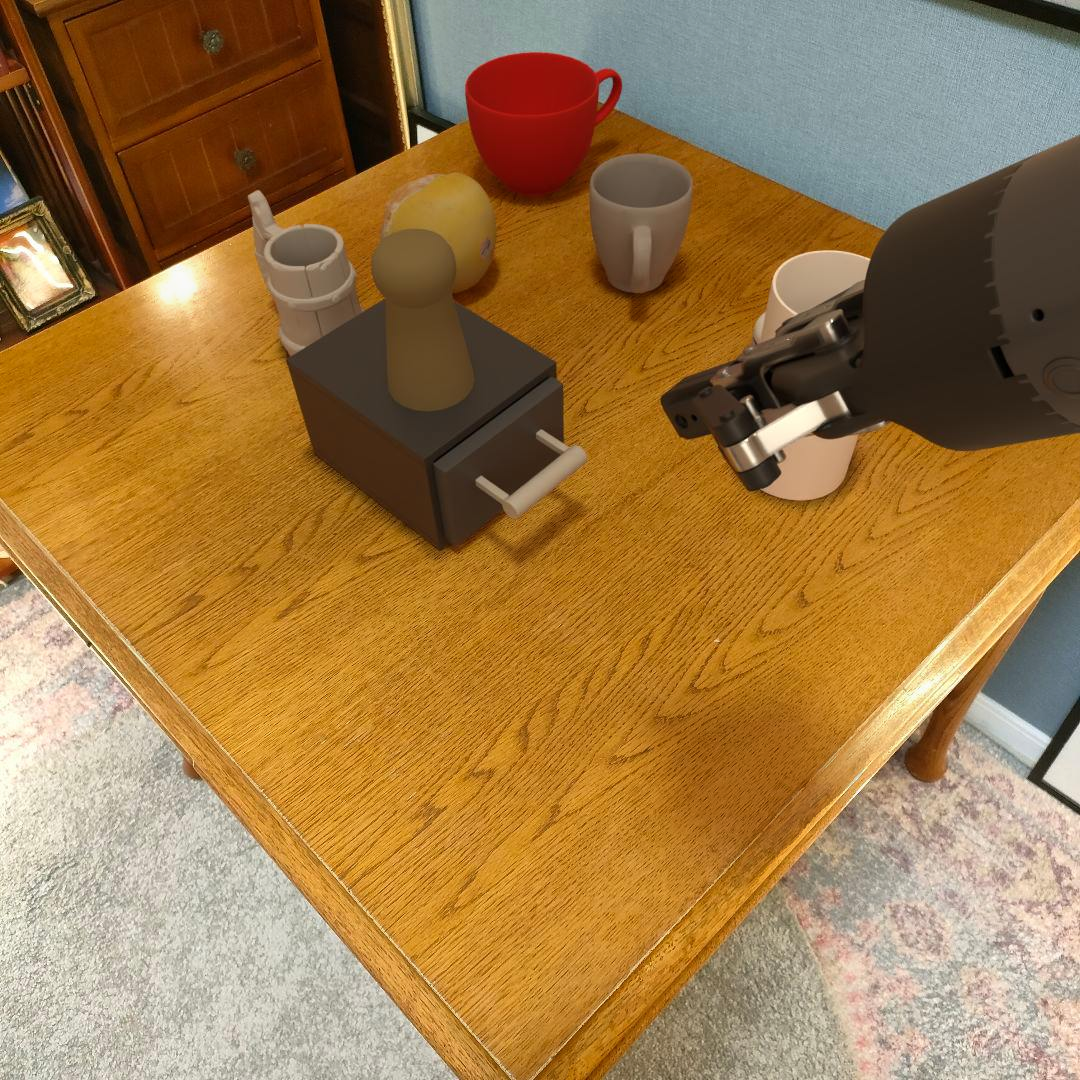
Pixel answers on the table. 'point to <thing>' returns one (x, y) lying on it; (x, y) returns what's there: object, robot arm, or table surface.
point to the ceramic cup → (536, 117)
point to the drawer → (506, 463)
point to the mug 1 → (304, 276)
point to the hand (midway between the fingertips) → (680, 410)
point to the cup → (793, 291)
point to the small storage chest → (402, 410)
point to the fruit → (448, 220)
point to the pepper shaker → (422, 321)
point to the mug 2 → (639, 218)
